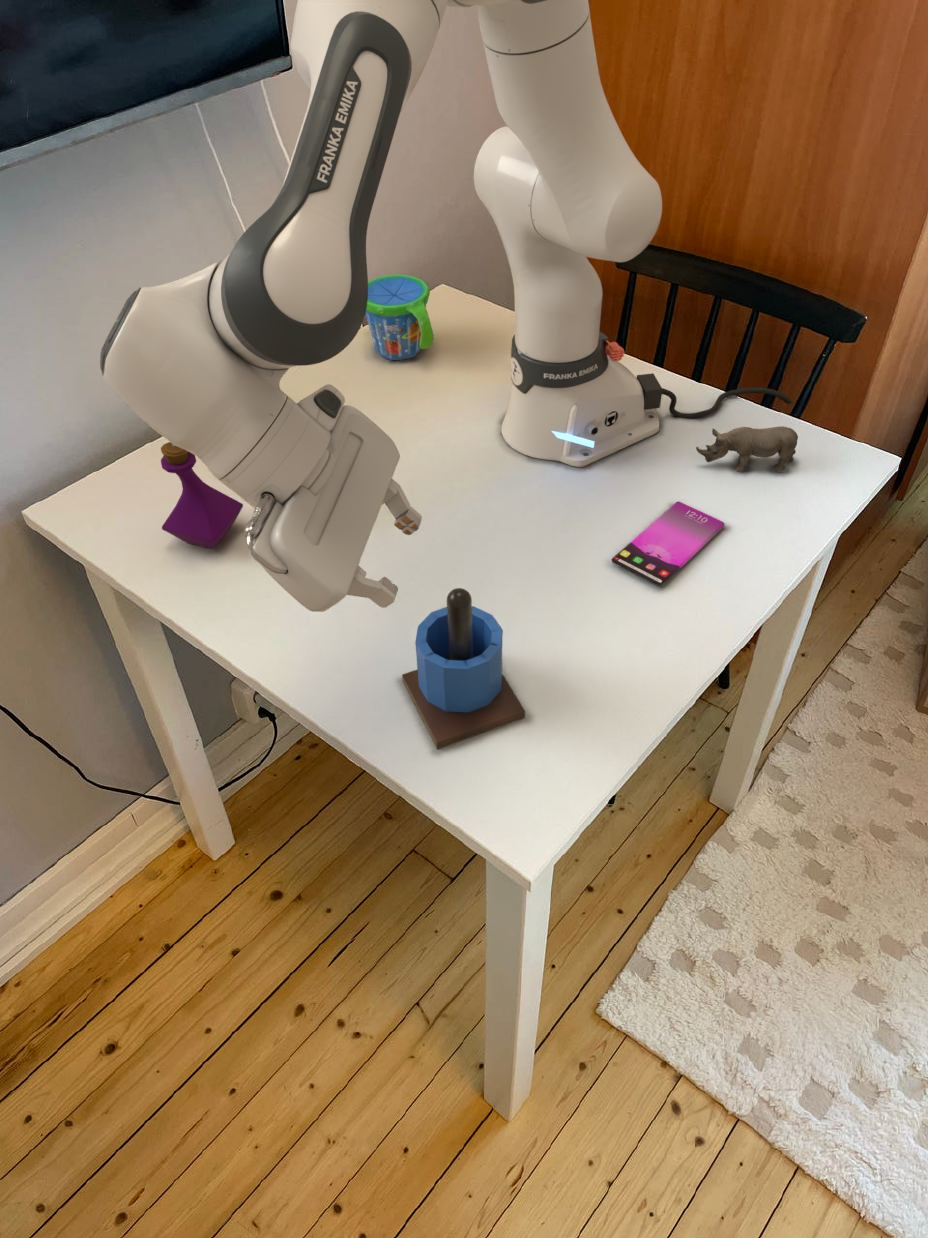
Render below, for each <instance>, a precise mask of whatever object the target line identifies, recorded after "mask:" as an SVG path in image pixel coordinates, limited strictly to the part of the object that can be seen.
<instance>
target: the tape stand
mask: <svg viewBox="0 0 928 1238" xmlns="http://www.w3.org/2000/svg"><path fill="white" fill-rule="evenodd" d="M472 606H473V598H472V596H471V594H470V592H469V591H468V590H466V589H465V588H462V587H457V588H454V589H452V590H451V591H449V593H448V594H447V597H446V607H447V617H448V638H449V659H448V660H460V661H466V660H469V659H471V658H473V639H472ZM401 678H402V683H403V685H404V688H405V689H406V691H407V693H408V695H409V697H410V699H411V701H412V703H413V705H414V707H415V710H416V712H417V713H418V715H419V717H420V719H421V721H422V723H423V725H424V727H425V729H426V731H427V732H428V734H429V736H430V738H431V741H432V742H433V744H434V747H435V749H436V750H439V749H443V748H446V747H447V746H450V745H453V744H456V743H459V742H462V741H464V740H468V739H470V738H473V737H476V736H479V735H481V734H483V733H487V732H489V731H492V730H495V729H498V728H501V727H503V726H506V725H508V724H511V723H514V722H517V721H520V720H523V719H525V718H526V710H525V708H524V706H523V705H522V703H521V702H520V699H519V698H518V697H517V695H516V694H515V692H514V690H513V689H512V687H511V686H510V684H509V682H508V681H507V679H506V677H505V676H504V674H503V673H502V682H501V691H500V692H499V693H498V694H497V696H496V697H495V698H494V699H493V700H492V701H491V703H490V704H489V705H487V706H484V707H482V708H479V709H476V710H474V711H471V712H468V713H466V712H447V711H444V710H442V709H441V708H439V707H437V706H435V705H433V704H431V703H429V702H428V701H427V699H426V698H425V696H424V694H423V693H422V691H421V689H420V687H419V680H418V669H417V668H416V669H415V670H412V671H409V672H405V673H403V674H401Z"/></svg>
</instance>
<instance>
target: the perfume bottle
mask: <svg viewBox="0 0 928 1238" xmlns="http://www.w3.org/2000/svg"><path fill="white" fill-rule="evenodd" d="M160 452H161V454H162V457H161V459H160V465H161V469H162V470H164V471H166V472H167V473H169V474H175V475H177V476H178V478H179V480H180V482H181V486H182V487H181V488H182V491H181V494H180V496H179V498H178V500H177V502H176V504H175V506H174V508H173V509H172V511H170V514H169V515H168V516H167V518H166V519H165V521H164V523H163V524H162V525H161V529H162V530H163V531H165V532H166V533H168V534H170V535H172V536H174V537H176V538H177V539H179V540H181V541H182V542H185V543H186V544H190V545H193V546H194V545H195V546H199V547H203V548H207V549H211V550H215V549H216V548H217V547H218V546H219V545H220V543H221V542H222V541H223V539H224V538H225V537H226V536H227V534H228V533H230V531H231V530H232V527H233V526H234V524H235V522H236V520H237V519H238V516H239V515H240V513H241V511H242V509H243V507H244V504H243V503H242V502H240V501H238V500H236V499H235V498H233V497H231V496H229V495H227V494H225V493H223V492H222V491H219V490H218V489H216V488H214V487H212V486H211V485H209V484H207V483H206V482H204V481H203V480H202V479H201V478H200V476H198V475H197V473H196V472H195V471H194V470H193V469H194V467H195V465H196V463H197V456H195V455H194V454H192V453H190V452H189V451H187V450H185V449H182V448H180V447H177V446H175V445H173V444H172V443H171V442H169V441H168V442H166V443H164V444H162V446H161V447H160Z"/></svg>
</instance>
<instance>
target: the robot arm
mask: <svg viewBox="0 0 928 1238" xmlns="http://www.w3.org/2000/svg"><path fill="white" fill-rule="evenodd" d="M473 6H475V8H476V13H477V21H478V25H479V31H480V35H481V40H482V44H483V49H484V54H485V59H486V63H487V68H488V72H489V77H490V82H491V86H492V89H493V96H494V100H495V104H496V107H497V111H498V112H499V115H500V116H501V118H502V120H503V122H504V123H505V125H506V126H502V127H500V128H497V129H496V130H495V131H493V132H491V134H490V135H489V136H488V137H487V138H486V139H485V141H484V142H483V144H482V145H481V146H480V149H479V151H478V153H477V155H476V159H475V162H474V167H473V184H474V189H475V192H476V195H477V197H478V198H479V200H480V201H481V203H482V204H483V206H484V207H485V209H486V210H487V212H488V213H489V215H490V216H491V219H492V220H493V222H494V225H495V226H496V228H497V232H498V233H499V236H500V239H501V242H502V245H503V248H504V251H505V254H506V258H507V261H508V265H509V268H510V272H511V277H512V283H513V292H514V293H513V294H514V334H513V336H512V338H511V345H510V348H511V349H510V365H509V366H510V379H511V387H510V393H509V399H508V404H507V409H506V412H505V416H504V418H503V421H502V423H501V427H500V429H501V435H502V437H503V439H504V441H505V443H506V444H508V445H509V446H510V447H511V448H512V449H513V450H515V451H517V452H519V453H520V454H522V455H525V456H528V457H530V458H535V459H540V460H547V461H554V462H555V461H556V462H560V463H563V464H566V465H568V466H572V467H576V468H583V467H586V466H588V465H591V464H593V463H595V462H597V461H598V460H601V459H604V458H606V457H607V456H610V455H612V454H614V453H617V452H619V451H621V450H622V449H624V448H626V447H629V446H632V445H633V444H636V443H639V442H640V441H642V440H645V439H647V438H649V437H651V436H653V435H655V434H657V433H658V432H659V431H660V419H659V415H658V413H657V412H656V410H655V409H661V403H662V396H663V395H665V396H666V397H668V398H669V399H670V403H669V407H668V410H669V413H670V414H671V415H672V416H674V417H675V418H677V419H678V418H679V419H686V420H687V419H688V420H689V419H690V420H692V419H698V418H702V417H707V416H710V415H712V414H715V413H716V412H717V411H718V409H719V408H720V407H721V405H722V402H723V401H724V400H725V399H726V398H730V397H733V396H739V395H744V394H745V395H746V394H763V395H764V394H766V395H770V396H774V397H776V398H778V399H780V400H781V401H782V402H784V403H785V404H787V405H790V404H793V401H792V399H791V398H789V397H788V396H787V395H786V394H784V393H783V392H780V391H778V390H775V389H773V388H767V387H744V388H738V389H737V388H736V389H732V390H728V391H725V392H723V393H721V394H719V396H718V397H717V398H716V401H715V402H714V404H713V406H712V407H710V408H708V409H705V410H701V411H697V412H691V413H684V412H680V411H678V410H676V406H677V402H678V401H677V396H676V394H675V393H674V392H672V390H670V389H667V388H663V387H662V386H661V383H660V382H659V381H658V379H657V377H656V376H655V374H654V373H643V374H637V375H636V376H635V374H634V373H633V372H632V371H631V370H630V369H629V368H628V367H627V366H625V365H624V364H623V363H621V362H620V361H621V360H622V358H624V356H625V350H624V348H623V347H622V346H621V345H620V344H619V343H618V342H617V341H611V342H610V341H609V337H608V336H607V335H606V334H605V333H603V332H602V331H600V329H601V317H602V305H603V296H604V295H603V294H604V292H603V286H602V281H601V279H600V276H599V274H598V273H597V271H596V269H595V267H594V266H593V265H592V264H591V262H590V261H589V259H588V258H590V259H595V260H599V261H600V260H601V261H608V262H613V263H626V262H629V261H631V260H633V259H634V258H636V257H637V256H638V255H640V254H641V253H642V252H643V251H644V250H645V249H647V247H648V246H649V245H650V244H651V242H652V241H653V239H654V237H655V235H656V234H657V232H658V229H659V228H660V227H659V226H660V224H661V220H662V215H663V197H662V191H661V187H660V185H659V183H658V181H657V180H656V179H655V178H654V177H653V175H651V174H650V173H649V172H648V171H647V169H646V168H644V166H643V164H641V163H640V161H639V159H637V157H636V155H635V154H634V153H633V151H632V149H631V147H630V146H629V144H628V143H627V141H626V139H625V137H624V135H623V133H622V131H621V129H620V127H619V125H618V123H617V121H616V119H615V117H614V114H613V112H612V110H611V107H610V104H609V102H608V99H607V97H606V94H605V92H604V88H603V85H602V81H601V77H600V72H599V66H598V60H597V53H596V46H595V40H594V33H593V27H592V26H593V25H592V20H591V19H592V18H591V11H590V3H589V0H297V2H296V7H295V11H294V17H293V23H292V30H291V38H290V45H289V46H290V48H289V49H290V50H289V51H290V54H291V58H292V61H293V65H294V67H295V68H296V71H297V72H298V74H299V76H300V78H301V79H302V81H303V82H304V84H305V85H306V86H307V87H308V89H310V93H309V99H308V103H307V107H306V110H305V114H304V117H303V121H302V123H301V127H300V130H299V131H298V136H297V139H296V142H295V146H294V148H293V151H292V155H291V158H290V160H289V164H288V168H287V170H286V173H285V177H284V181H283V183H282V186H281V188H280V192H279V193H278V195H277V197H276V198H275V200H274V202H273V203H272V205H271V206H270V207H269V208H268V209H267V210H266V211H264V213H263V214H262V215H261V216H259V217H258V218H257V219H256V220H255V221H254V222H253V223H252V224H251V225H250V226H249V227H248V228H247V229H246V230H245V231H244V232H243V233H242V235H241V236H240V237H239V239H238V240H237V241H236V243H235V245H234V246H233V248H232V250H231V251H230V253H228V254H227V255H226V256H225V257H224V258H222V259H220V260H219V261H216V262H214V263H212V264H210V265H208V266H207V267H204V268H202V269H200V270H198V271H196V272H194V273H191V274H189V275H187V276H184V277H181V278H179V279H176V280H172V281H168V282H167V283H162V284H158V285H155V286H140V287H138V288H137V290H134V291H133V292H132V293H131V294H130V295H129V297H128V298H127V299H126V301H125V303H124V305H123V307H122V308H121V310H120V313H119V314H118V316H117V317H116V319H115V321H114V323H113V325H112V327H111V329H110V330H109V333H108V335H107V336H106V338H105V340H104V343H103V345H102V347H101V350H100V357H99V367H100V370H101V376H102V378H103V380H104V382H105V383H106V385H107V386H108V388H109V389H110V390H111V391H112V392H113V393H114V394H115V396H116V397H117V398H118V399H120V401H121V402H123V404H124V405H126V407H128V409H130V410H131V411H132V412H133V413H134V414H135V415H136V416H137V417H139V418H140V420H142V421H144V423H146V424H147V425H148V426H149V427H151V428H152V429H153V430H154V431H155V432H156V433H157V434H158V435H160V436H162V437H163V438H164V439H166V440H167V441H168V442H171V443H172V444H173V445H175V446H177V447H180V448H182V449H185V450H187V451H189V452H190V453H192V454H194V455H195V457H196V458H197V459H199V460H200V461H201V462H202V463H203V464H204V465H205V466H206V468H207V470H208V471H209V472H210V474H212V476H213V477H214V478H215V479H217V480H218V481H219V482H220V483H221V484H222V485H224V486H225V487H227V488H228V489H229V490H231V491H232V492H233V493H234V494H236V495H237V496H238V497H240V498H241V499H242V500H243V501H245V502H246V503H247V504H248V505H250V506H251V507H252V508H253V509H254V511H253V514H252V516H251V518H250V519H249V520H248V521H247V523H246V525H245V527H244V533H243V534H244V536H245V538H246V545H247V548H248V553H249V555H250V556H251V558H252V559H253V560H255V561H256V562H257V563H258V564H259V565H260V566H261V567H262V568H263V570H264V571H265V572H266V573H267V574H268V575H269V576H270V578H271V579H273V580H274V581H275V583H277V584H278V585H279V586H280V587H281V588H282V589H283V590H284V591H286V592H287V594H288V595H290V596H291V597H292V598H293V599H294V600H296V601H297V603H299V604H300V605H301V606H303V607H304V608H305V609H307V610H308V611H310V612H316V613H323V612H326V611H328V610H330V609H331V608H333V607H334V606H335V605H337V604H338V603H340V602H341V601H342V600H343V599H345V598H346V597H347V596H351V597H359V598H365V599H369V600H371V602H373V603H374V604H376V605H377V606H378V607H380V608H382V609H383V608H384V609H385V608H387V607H389V606H390V605H392V604H393V603H394V602H395V601H396V597H397V594H398V590H399V588H398V587H399V586H398V585H397V584H395V583H392V581H391V580H390V579H389V578H388V577H386V576H383V577H382V578H380V579H379V580H375V579H372V578H368V577H367V571H366V570H364V569H363V568H362V567H361V566H360V565H359V564H360V562H361V559H362V556H363V554H364V552H365V549H366V546H367V544H368V541H369V538H370V536H371V533H372V530H373V528H374V525H375V523H376V520H377V518H378V515H379V512H380V510H381V507H382V505H385V506H386V508H387V509H388V511H389V513H390V514H391V515H392V516H393V518H394V519H395V520H394V524H393V525H394V527H396V528H397V529H398V530H399V531H400V530H401V533H403V534H404V535H407V536H411V535H413V534H414V533H415V532H417V531H418V530H419V529H420V525H421V522H422V520H423V516H422V514H420V513H419V512H418V511H417V510H416V509H415V508H414V507H412V506H411V504H410V501H409V500H408V498H407V496H406V494H405V492H404V490H403V488H402V487H401V485H400V484H399V483H398V482H397V481H396V480H394V479H393V476H394V474H395V471H396V469H397V466H398V463H399V461H400V460H401V459H400V458H401V454H400V451H399V449H398V447H397V445H396V443H395V441H394V440H393V439H392V438H391V437H390V436H389V434H387V433H386V432H385V431H384V430H383V429H382V428H381V427H379V425H378V424H376V423H375V422H374V421H373V420H372V419H371V418H370V417H369V416H367V415H365V413H363V412H362V411H361V410H359V408H357V407H355V406H352V405H348V404H347V405H345V402H346V398H345V396H344V394H343V393H342V392H341V391H340V390H339V389H338V388H336V387H335V386H334V385H332V384H330V383H329V384H328V383H327V384H325V385H323V386H322V387H320V388H318V389H317V390H316V391H314V392H312V393H310V394H309V395H308V396H306V397H304V398H302V399H301V400H299V401H298V402H296V401H295V400H293V399H292V398H291V397H290V396H289V395H288V394H287V393H285V392H284V391H283V390H282V389H281V387H280V382H281V380H282V379H283V377H284V376H285V374H287V372H288V370H290V369H291V368H295V367H296V366H297V367H303V366H313V365H317V364H321V363H323V362H326V361H329V360H330V359H333V358H334V357H336V356H337V355H339V354H340V353H341V352H343V351H344V350H345V349H346V348H347V347H348V346H349V345H350V344H351V343H352V342H353V340H354V339H355V338H356V336H357V334H358V333H359V331H360V329H361V327H362V325H363V322H364V320H365V317H366V315H365V313H366V308H367V301H368V282H369V276H368V275H369V273H368V263H367V262H368V261H367V235H368V226H369V222H370V218H371V214H372V210H373V206H374V203H375V200H376V197H377V194H378V189H379V186H380V183H381V179H382V176H383V171H384V169H385V167H386V162H387V159H388V155H389V153H390V149H391V145H392V142H393V139H394V134H395V132H396V128H397V125H398V121H399V118H400V115H401V114H402V111H403V110H404V108H405V106H406V104H407V103H408V101H409V99H410V97H411V96H412V94H413V92H414V90H415V89H416V86H417V84H418V82H419V80H420V78H421V76H422V74H423V72H424V70H425V67H426V65H427V62H428V60H429V58H430V55H431V53H432V50H433V48H434V45H435V42H436V39H437V37H438V33H439V30H440V28H441V25H442V22H443V18H444V15H445V13H446V9H447V7H450V8H451V7H453V8H471V7H473Z"/></svg>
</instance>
